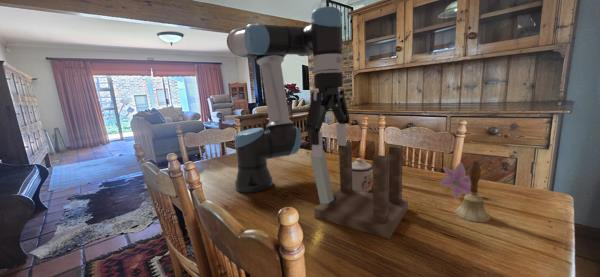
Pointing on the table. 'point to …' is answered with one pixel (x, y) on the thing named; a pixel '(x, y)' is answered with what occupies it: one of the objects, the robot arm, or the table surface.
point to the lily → (457, 180)
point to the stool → (368, 196)
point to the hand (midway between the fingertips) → (330, 150)
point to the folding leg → (322, 178)
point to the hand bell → (473, 199)
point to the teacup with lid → (361, 175)
